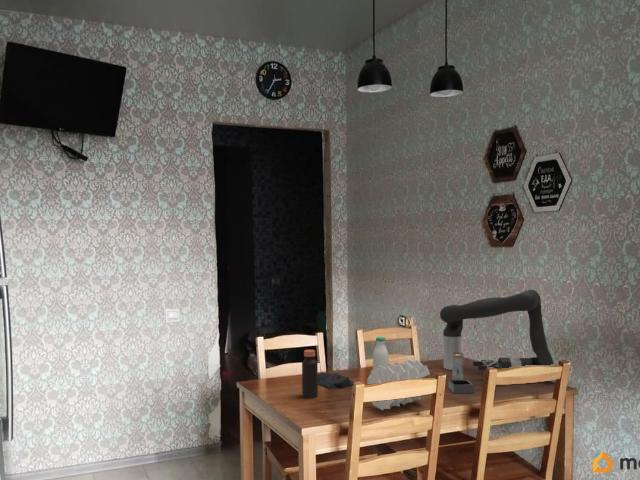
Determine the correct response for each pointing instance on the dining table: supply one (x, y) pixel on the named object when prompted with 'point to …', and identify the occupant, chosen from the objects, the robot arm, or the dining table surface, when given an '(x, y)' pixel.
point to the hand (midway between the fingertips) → (475, 365)
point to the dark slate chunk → (333, 381)
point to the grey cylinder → (457, 365)
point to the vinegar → (309, 375)
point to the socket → (461, 386)
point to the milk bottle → (380, 353)
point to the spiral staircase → (397, 373)
